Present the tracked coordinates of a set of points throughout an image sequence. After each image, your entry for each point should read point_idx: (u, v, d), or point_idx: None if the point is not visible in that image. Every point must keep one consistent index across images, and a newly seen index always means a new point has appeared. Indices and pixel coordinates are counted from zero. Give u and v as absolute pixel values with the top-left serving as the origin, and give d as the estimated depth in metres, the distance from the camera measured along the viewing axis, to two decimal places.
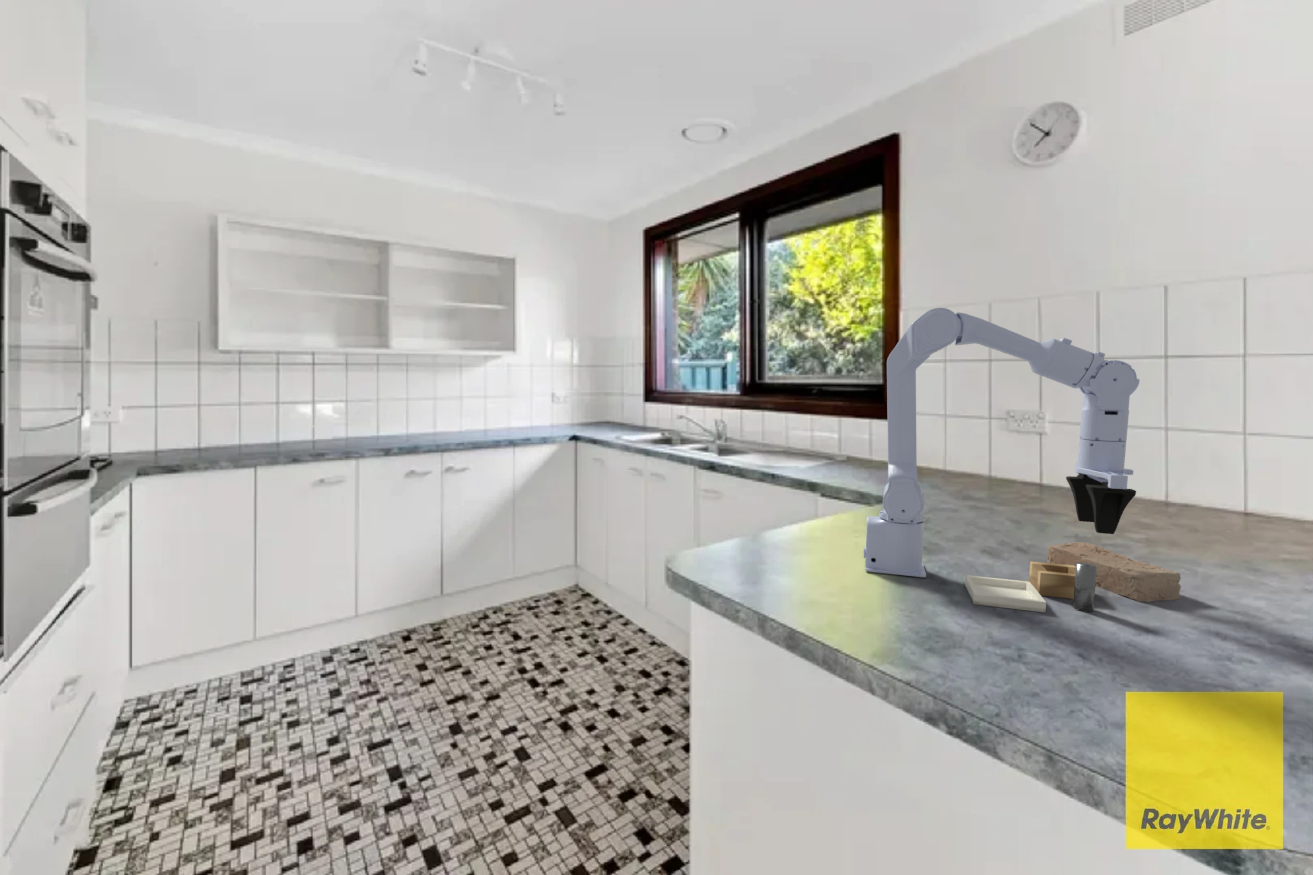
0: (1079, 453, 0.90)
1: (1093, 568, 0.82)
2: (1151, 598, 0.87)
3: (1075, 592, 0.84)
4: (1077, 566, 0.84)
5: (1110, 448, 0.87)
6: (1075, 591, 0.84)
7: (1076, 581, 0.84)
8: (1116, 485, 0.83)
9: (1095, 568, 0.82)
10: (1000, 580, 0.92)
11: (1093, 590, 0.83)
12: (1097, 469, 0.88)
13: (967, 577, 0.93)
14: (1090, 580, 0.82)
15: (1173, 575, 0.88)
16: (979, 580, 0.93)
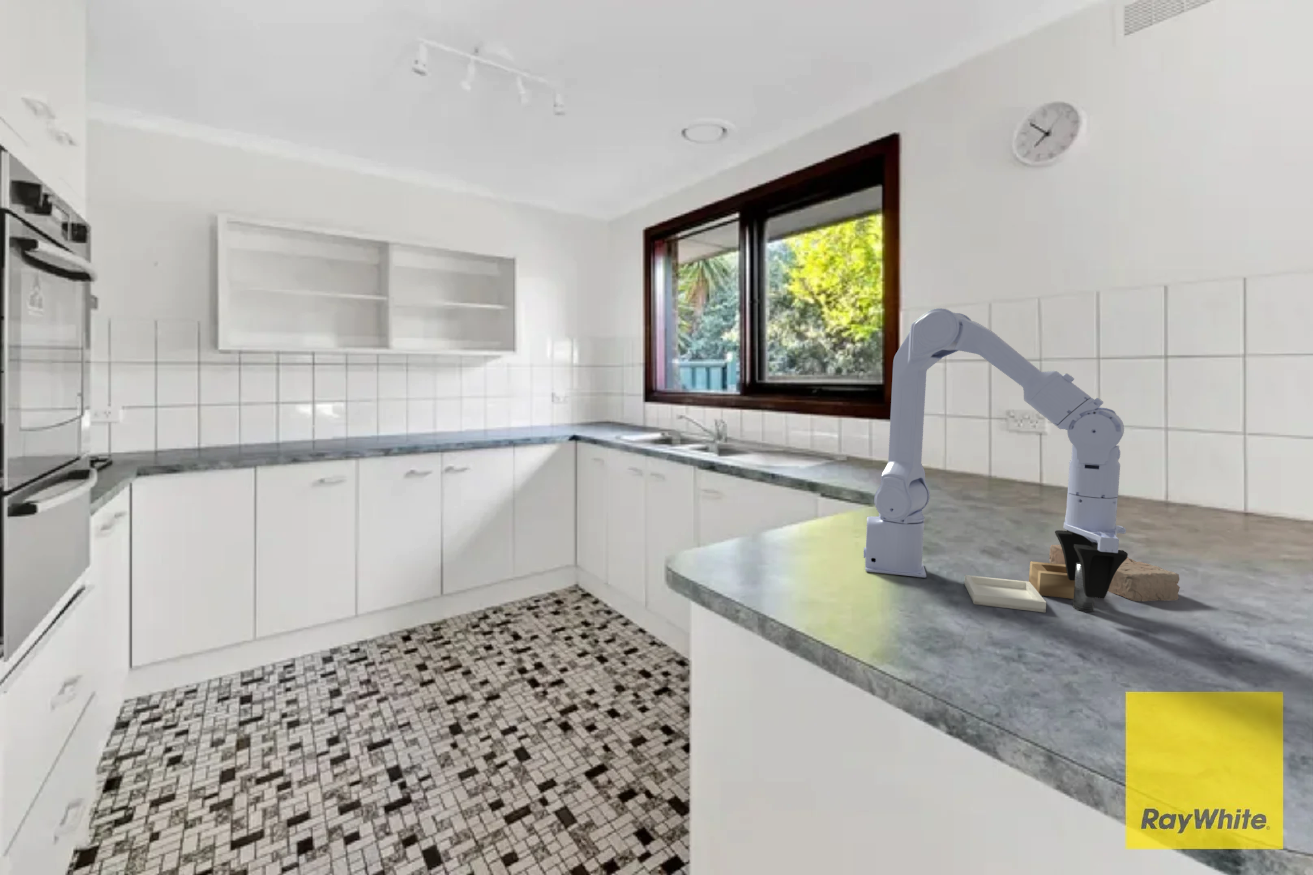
0: (1067, 508, 0.84)
1: None
2: (1147, 598, 0.87)
3: (1075, 592, 0.84)
4: (1077, 566, 0.84)
5: (1100, 505, 0.80)
6: (1075, 591, 0.84)
7: (1076, 581, 0.84)
8: (1106, 548, 0.76)
9: None
10: (1000, 580, 0.92)
11: None
12: (1086, 527, 0.81)
13: (967, 577, 0.93)
14: None
15: (1171, 576, 0.88)
16: (979, 580, 0.93)
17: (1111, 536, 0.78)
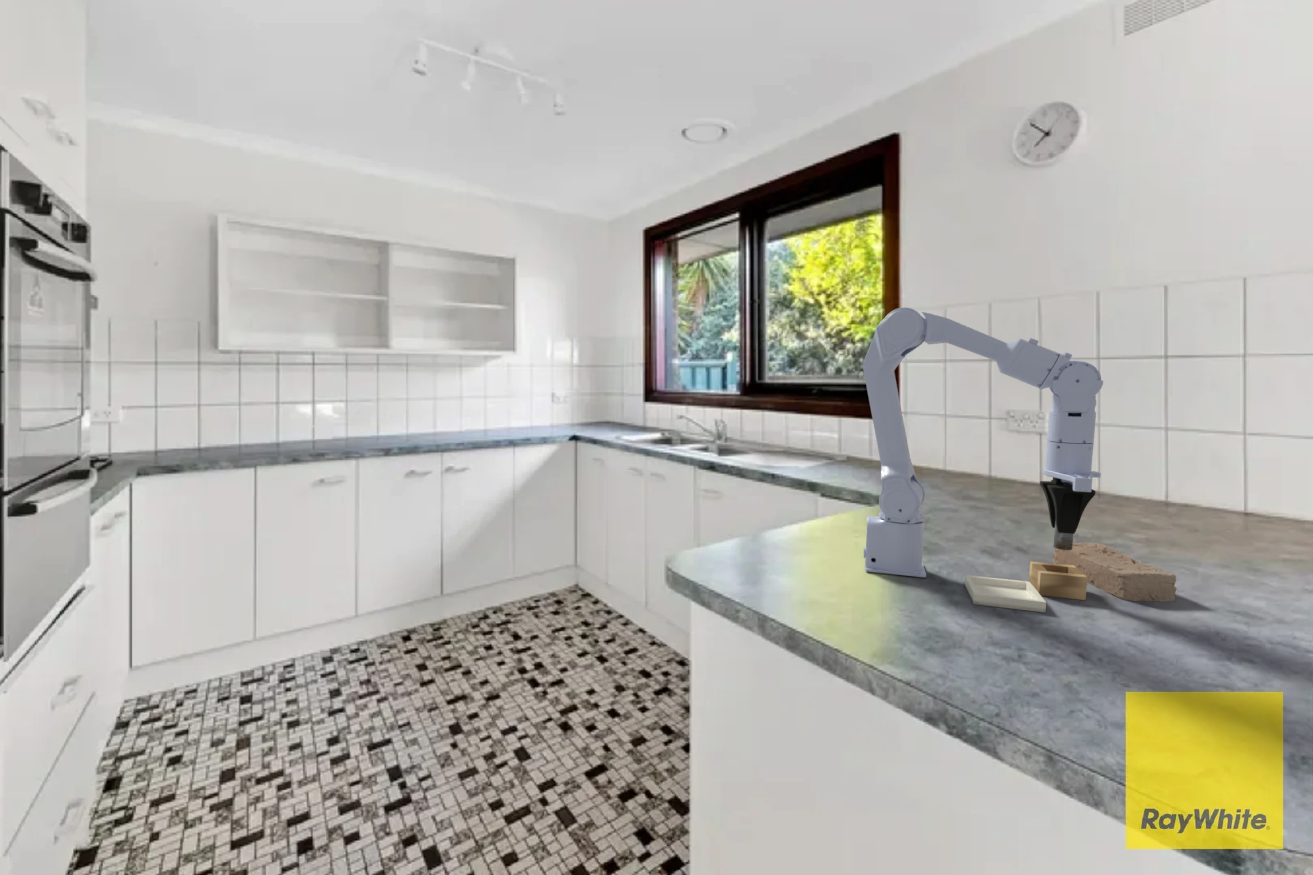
0: (1047, 455, 0.89)
1: None
2: (1139, 598, 0.87)
3: (1055, 532, 0.90)
4: None
5: (1076, 450, 0.85)
6: (1055, 531, 0.89)
7: None
8: (1080, 488, 0.82)
9: None
10: (1000, 580, 0.92)
11: None
12: (1063, 472, 0.86)
13: (967, 577, 0.93)
14: None
15: (1166, 577, 0.87)
16: (979, 580, 0.93)
17: (1086, 478, 0.84)
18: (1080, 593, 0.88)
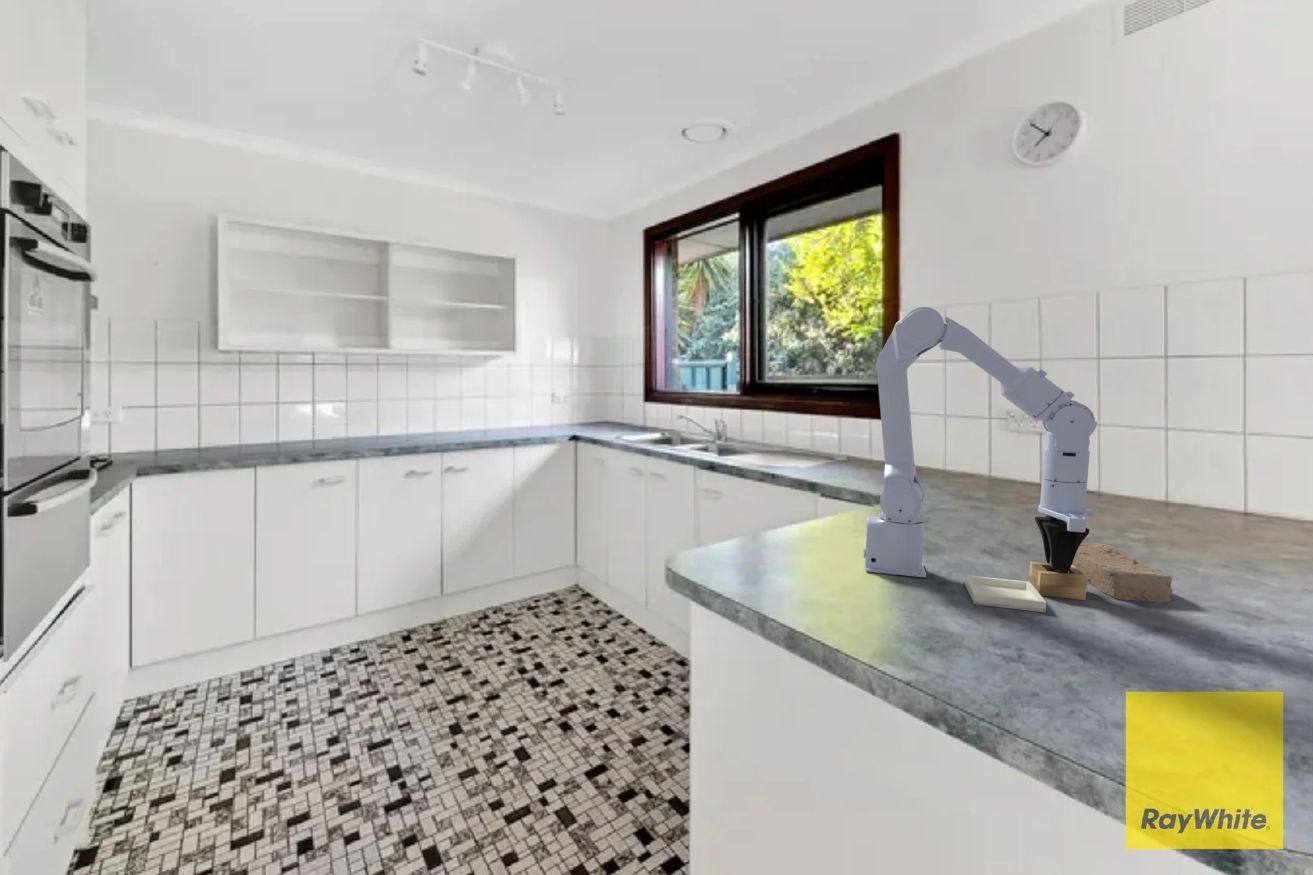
0: (1041, 493, 0.91)
1: None
2: (1131, 597, 0.88)
3: (1050, 568, 0.91)
4: None
5: (1070, 489, 0.87)
6: (1050, 567, 0.91)
7: None
8: (1075, 528, 0.83)
9: None
10: (1000, 580, 0.92)
11: None
12: (1058, 510, 0.88)
13: (967, 577, 0.93)
14: None
15: (1161, 577, 0.87)
16: (979, 580, 0.93)
17: (1080, 517, 0.85)
18: (1080, 593, 0.88)
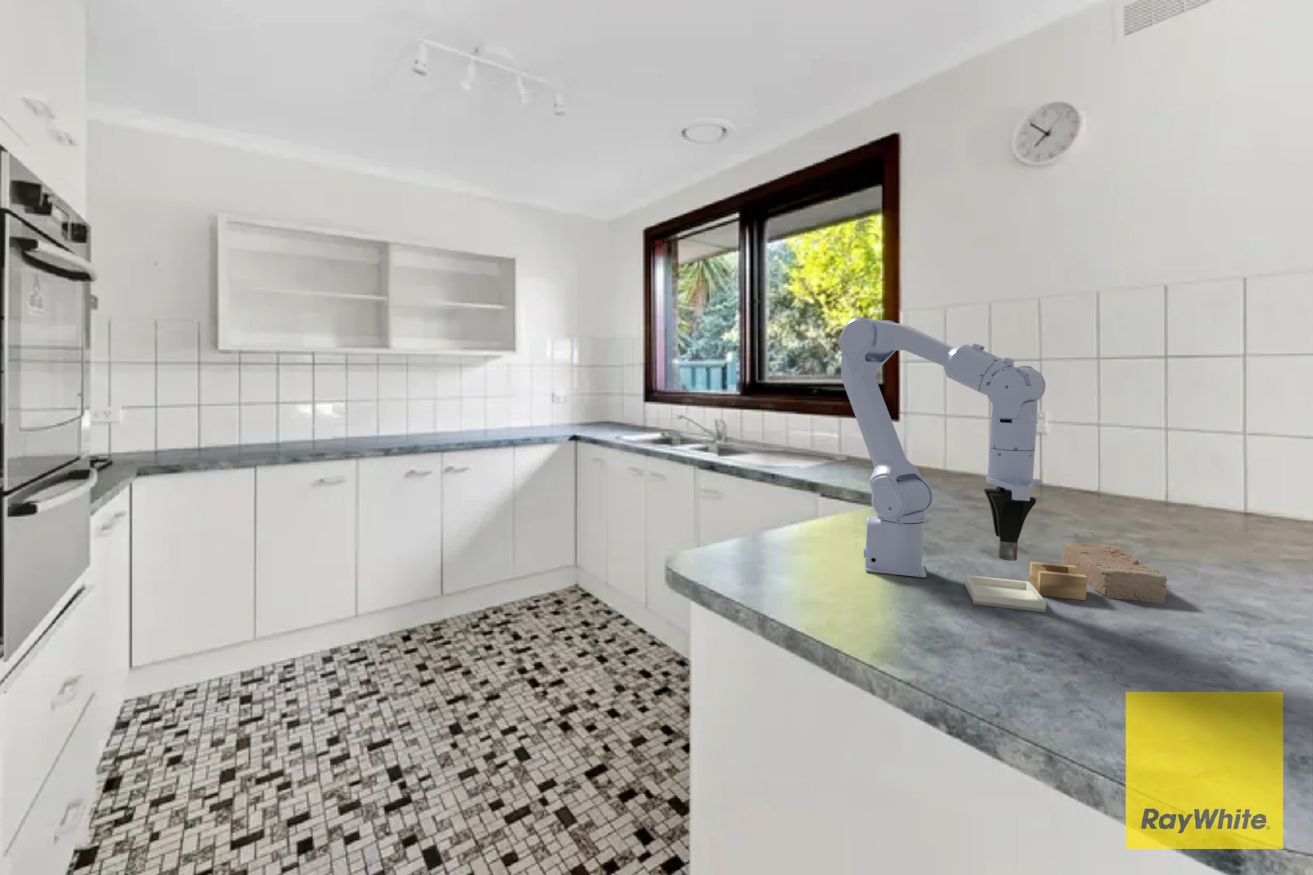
0: (989, 463, 0.87)
1: None
2: (1123, 596, 0.88)
3: (1000, 542, 0.87)
4: None
5: (1017, 458, 0.84)
6: (1000, 541, 0.87)
7: None
8: (1019, 497, 0.80)
9: None
10: (1000, 580, 0.92)
11: None
12: (1004, 479, 0.84)
13: (967, 577, 0.93)
14: None
15: (1155, 577, 0.87)
16: (979, 580, 0.93)
17: (1025, 486, 0.82)
18: (1080, 593, 0.88)
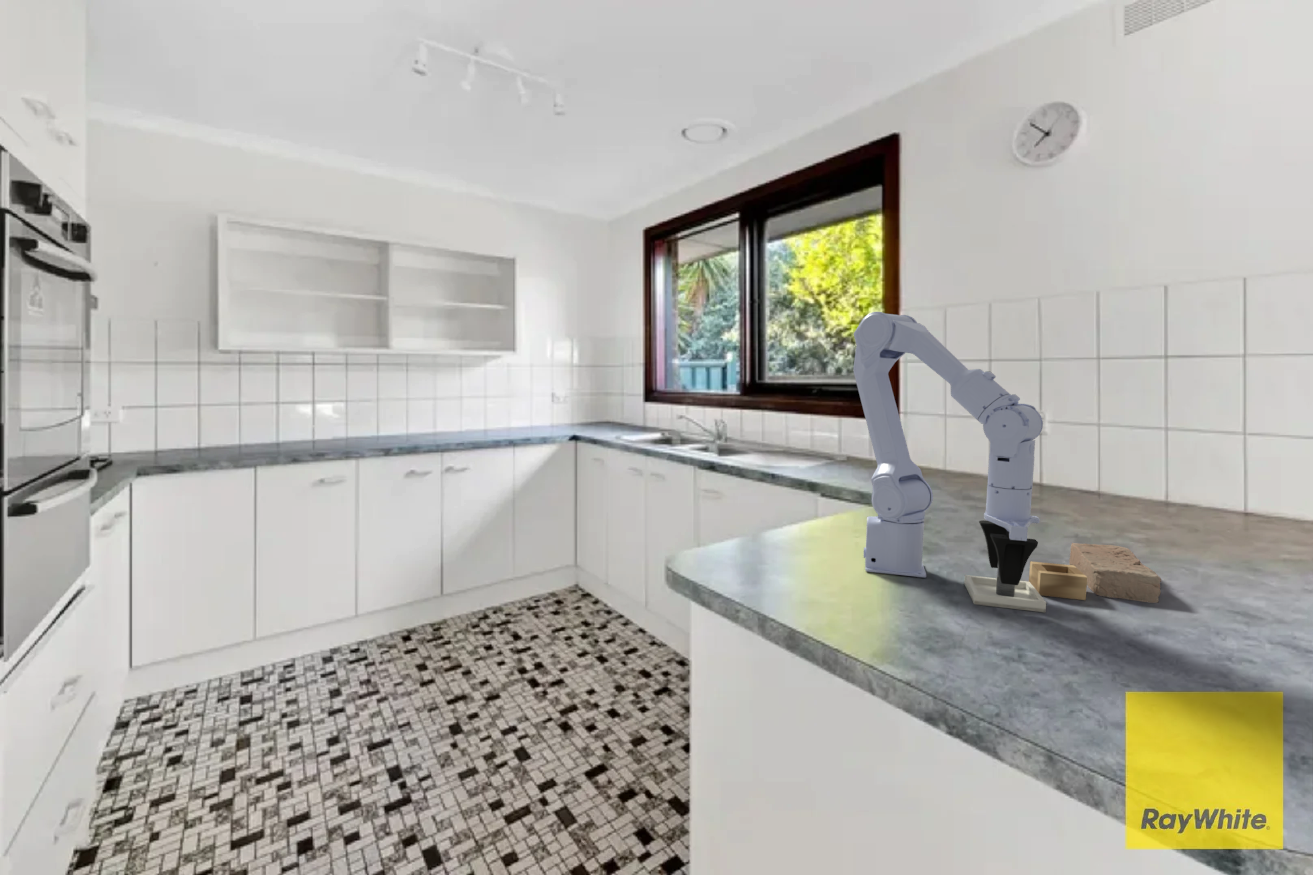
0: (987, 499, 0.88)
1: None
2: (1114, 595, 0.89)
3: (998, 579, 0.88)
4: None
5: (1014, 496, 0.84)
6: (998, 577, 0.88)
7: None
8: (1016, 536, 0.81)
9: None
10: None
11: None
12: (1002, 517, 0.85)
13: (967, 577, 0.93)
14: None
15: (1147, 577, 0.87)
16: (979, 580, 0.93)
17: (1023, 525, 0.82)
18: (1080, 593, 0.88)
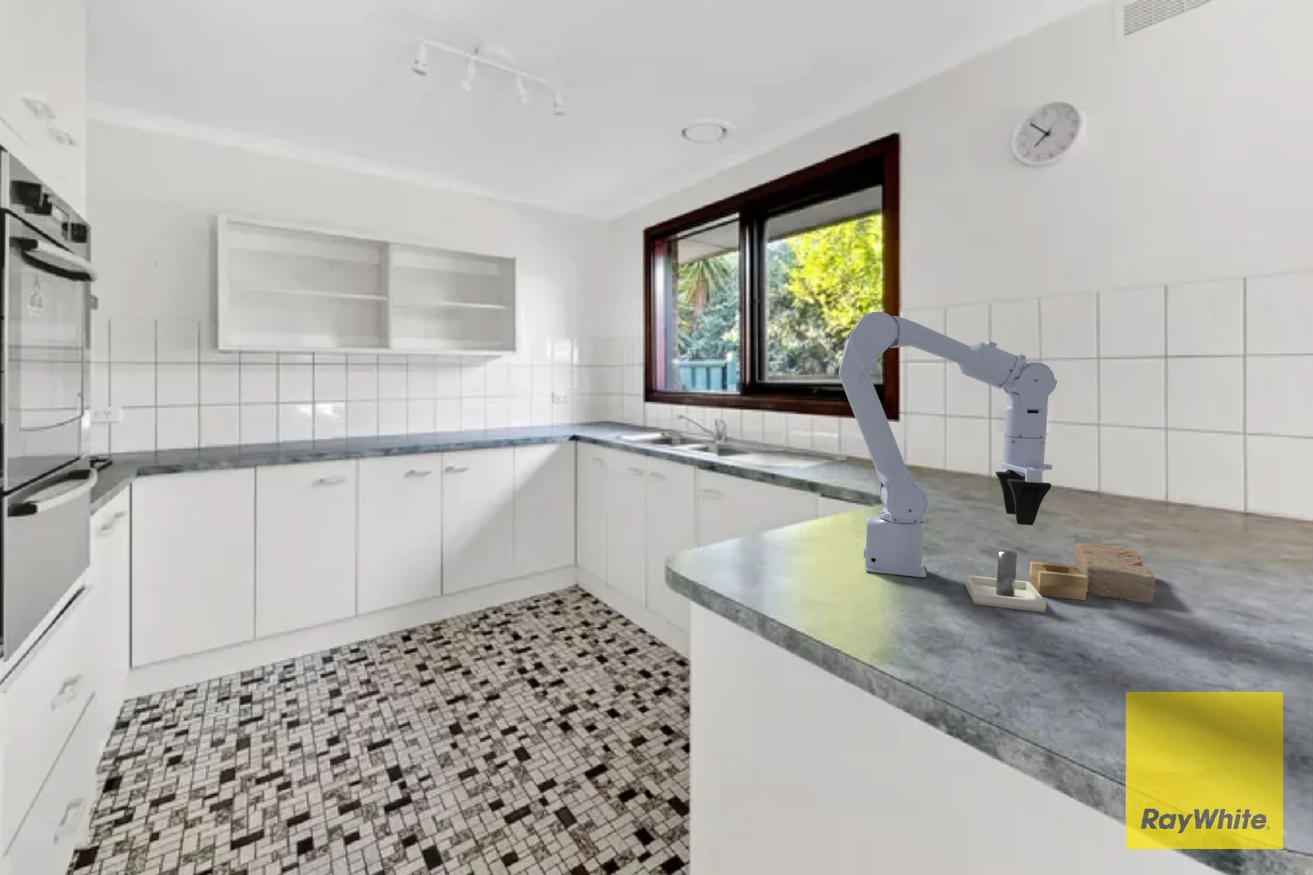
0: (1003, 449, 0.96)
1: (1013, 555, 0.86)
2: (1107, 594, 0.89)
3: (998, 579, 0.88)
4: (999, 554, 0.88)
5: (1029, 444, 0.92)
6: (998, 577, 0.88)
7: (998, 568, 0.88)
8: (1032, 479, 0.89)
9: (1015, 555, 0.87)
10: None
11: (1014, 576, 0.87)
12: (1018, 464, 0.93)
13: (967, 577, 0.93)
14: (1011, 566, 0.87)
15: (1141, 577, 0.87)
16: (979, 580, 0.93)
17: (1037, 470, 0.91)
18: (1080, 593, 0.88)
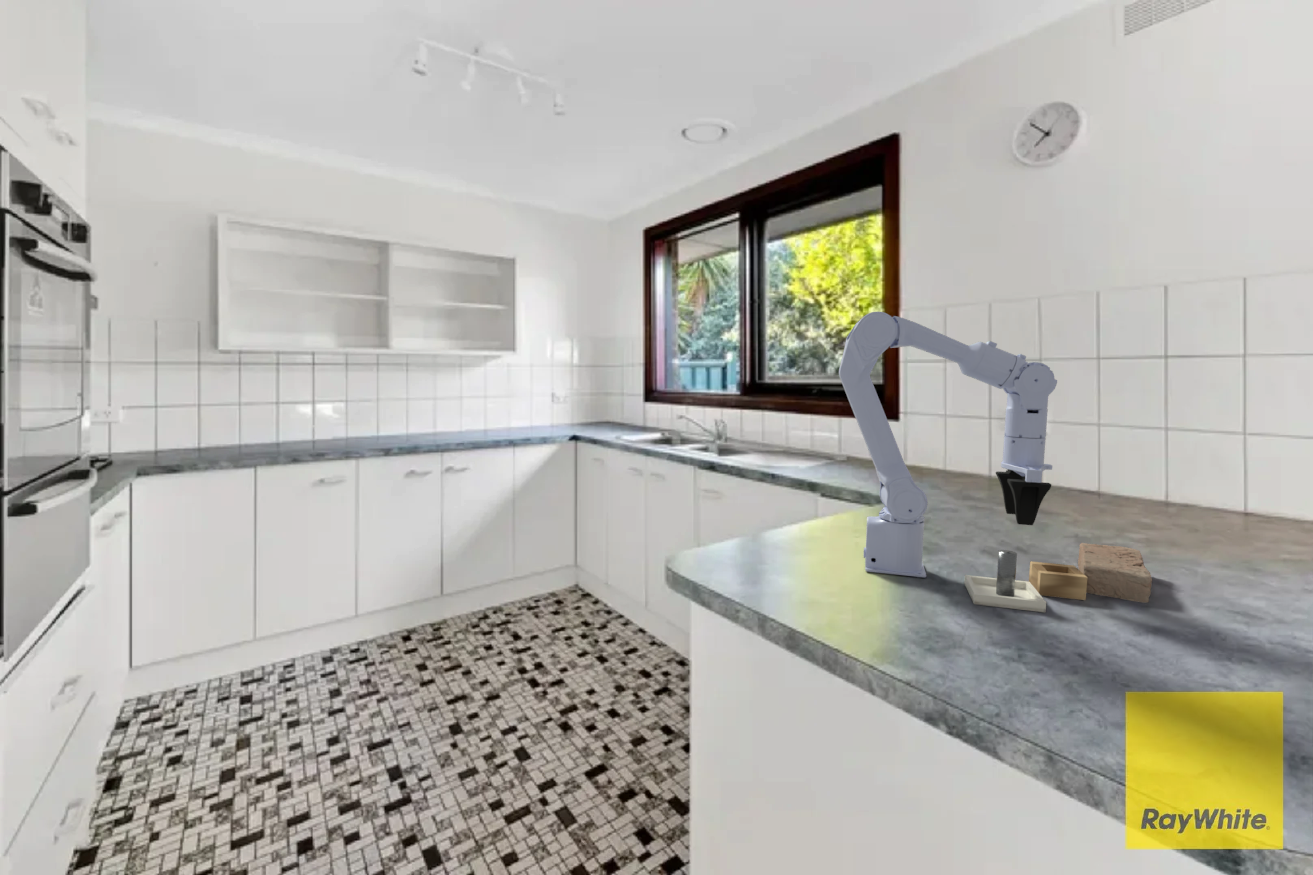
0: (1003, 449, 0.96)
1: (1013, 555, 0.86)
2: (1102, 593, 0.89)
3: (998, 579, 0.88)
4: (999, 554, 0.88)
5: (1029, 444, 0.92)
6: (998, 577, 0.88)
7: (998, 568, 0.88)
8: (1032, 479, 0.89)
9: (1016, 555, 0.87)
10: None
11: (1014, 576, 0.87)
12: (1018, 464, 0.93)
13: (967, 577, 0.93)
14: (1011, 566, 0.87)
15: (1137, 577, 0.87)
16: (979, 580, 0.93)
17: (1037, 470, 0.91)
18: (1080, 593, 0.88)
